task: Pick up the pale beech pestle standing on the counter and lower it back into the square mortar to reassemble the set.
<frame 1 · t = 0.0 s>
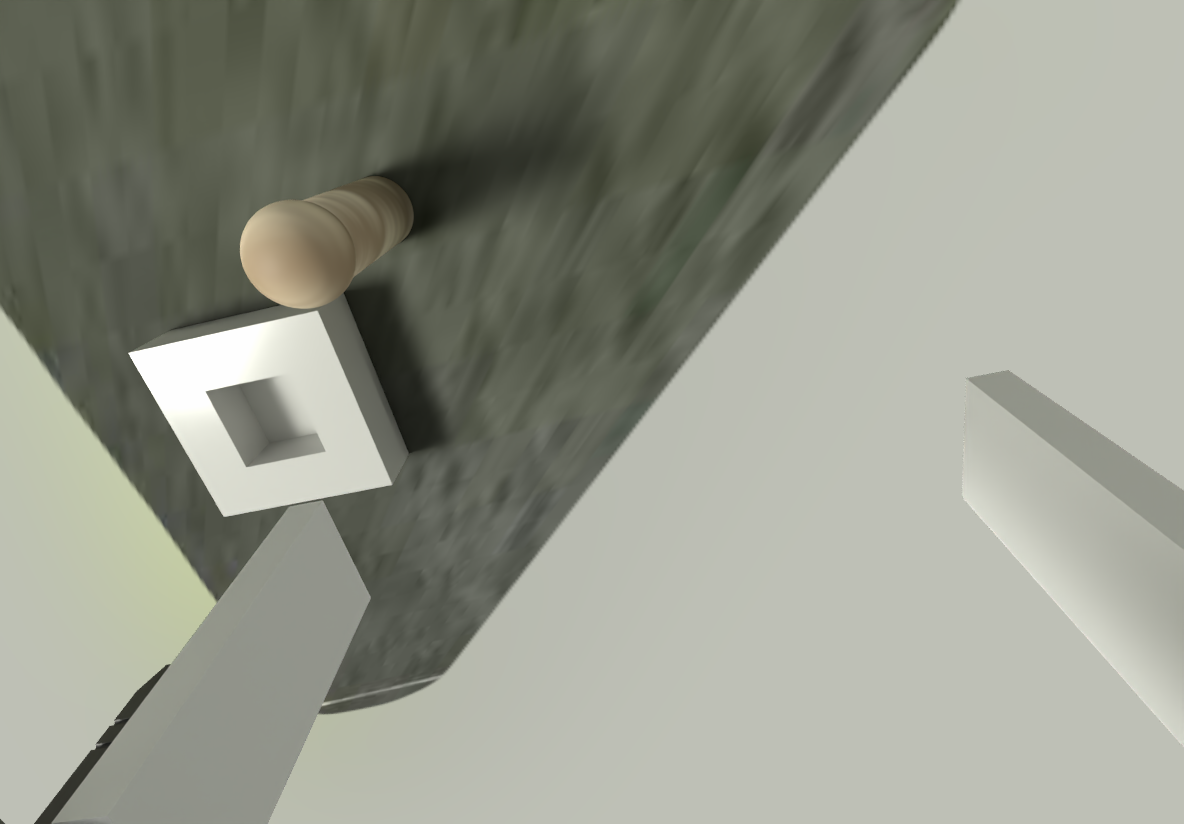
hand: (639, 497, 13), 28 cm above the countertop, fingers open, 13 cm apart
pestle: (379, 211, 38), on the countertop
mortar: (294, 394, 43), on the countertop
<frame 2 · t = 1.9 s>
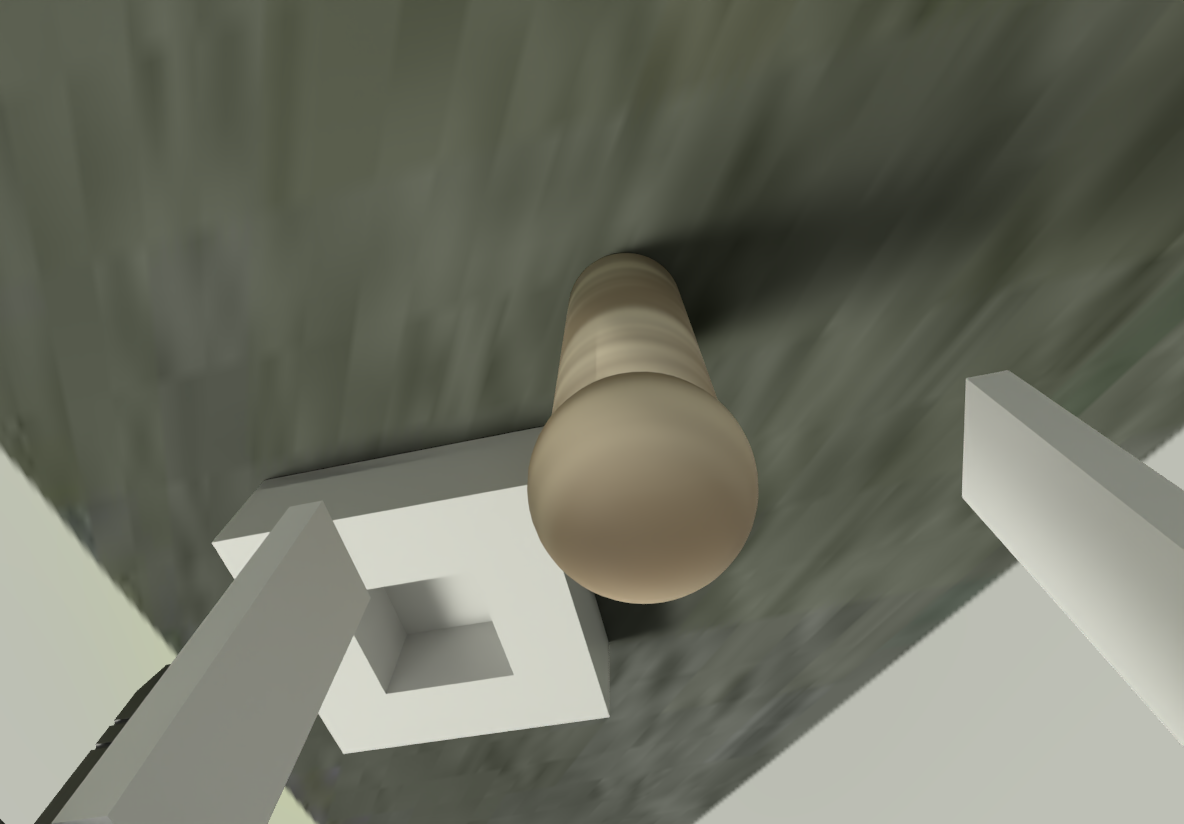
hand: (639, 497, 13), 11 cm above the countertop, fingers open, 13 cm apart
pestle: (624, 308, 23), on the countertop
mortar: (448, 567, 29), on the countertop
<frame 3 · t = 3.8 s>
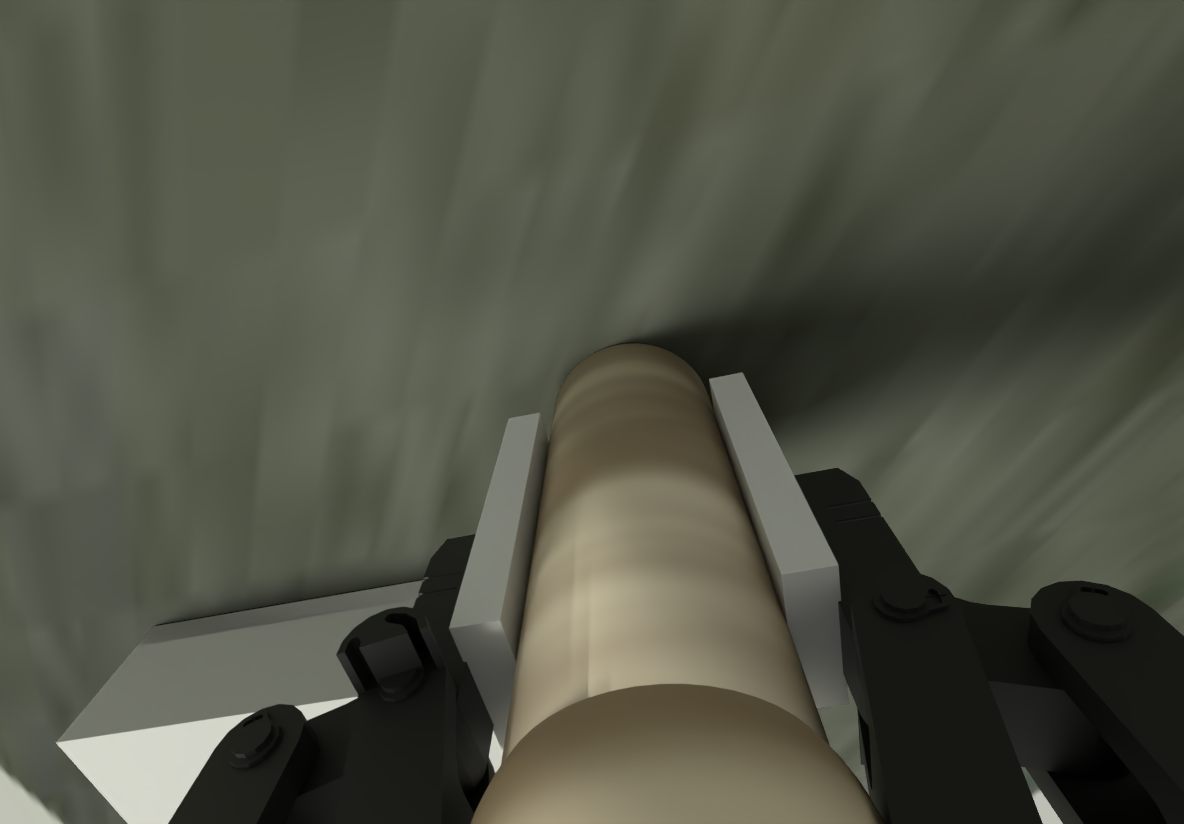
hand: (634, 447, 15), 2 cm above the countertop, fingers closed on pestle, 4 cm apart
pestle: (631, 416, 17), on the countertop, touching gripper
mortar: (401, 727, 22), on the countertop
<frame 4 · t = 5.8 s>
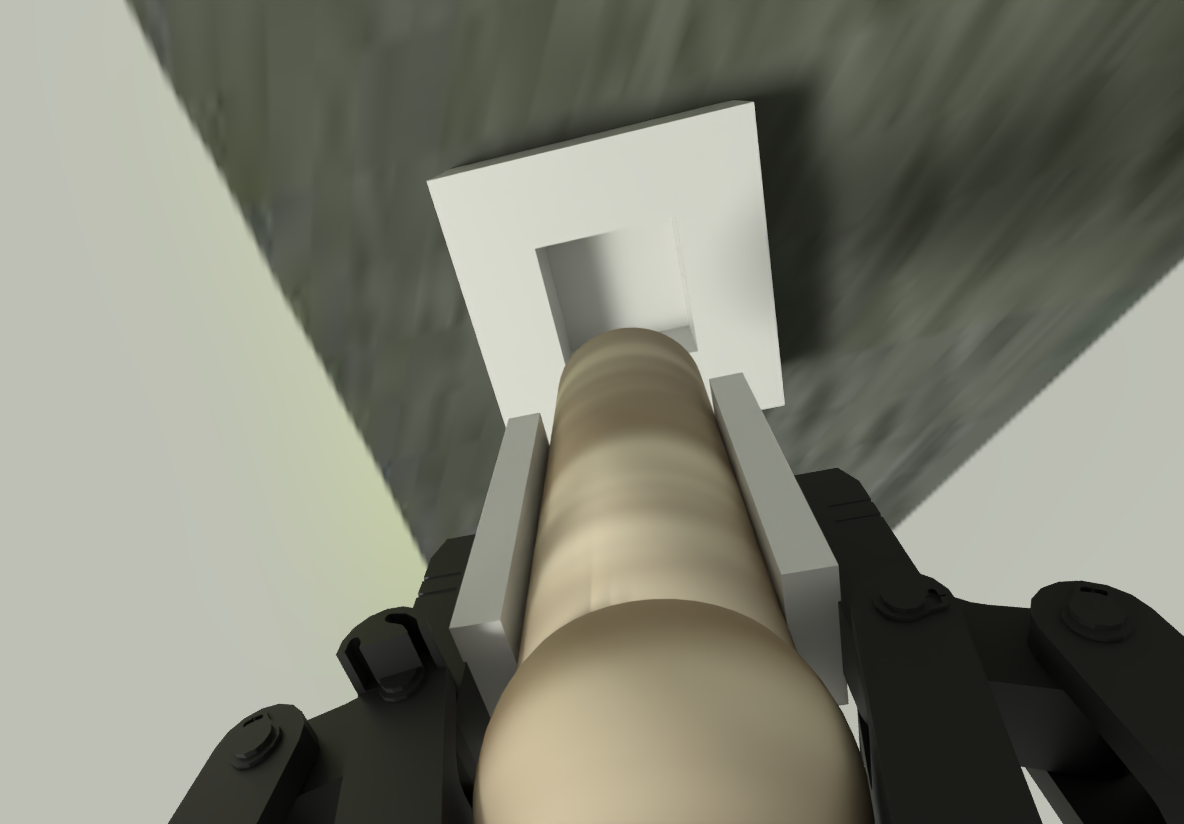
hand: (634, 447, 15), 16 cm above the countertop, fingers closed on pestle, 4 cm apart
pestle: (630, 396, 18), point 13 cm above the countertop, touching gripper
mortar: (617, 275, 29), on the countertop
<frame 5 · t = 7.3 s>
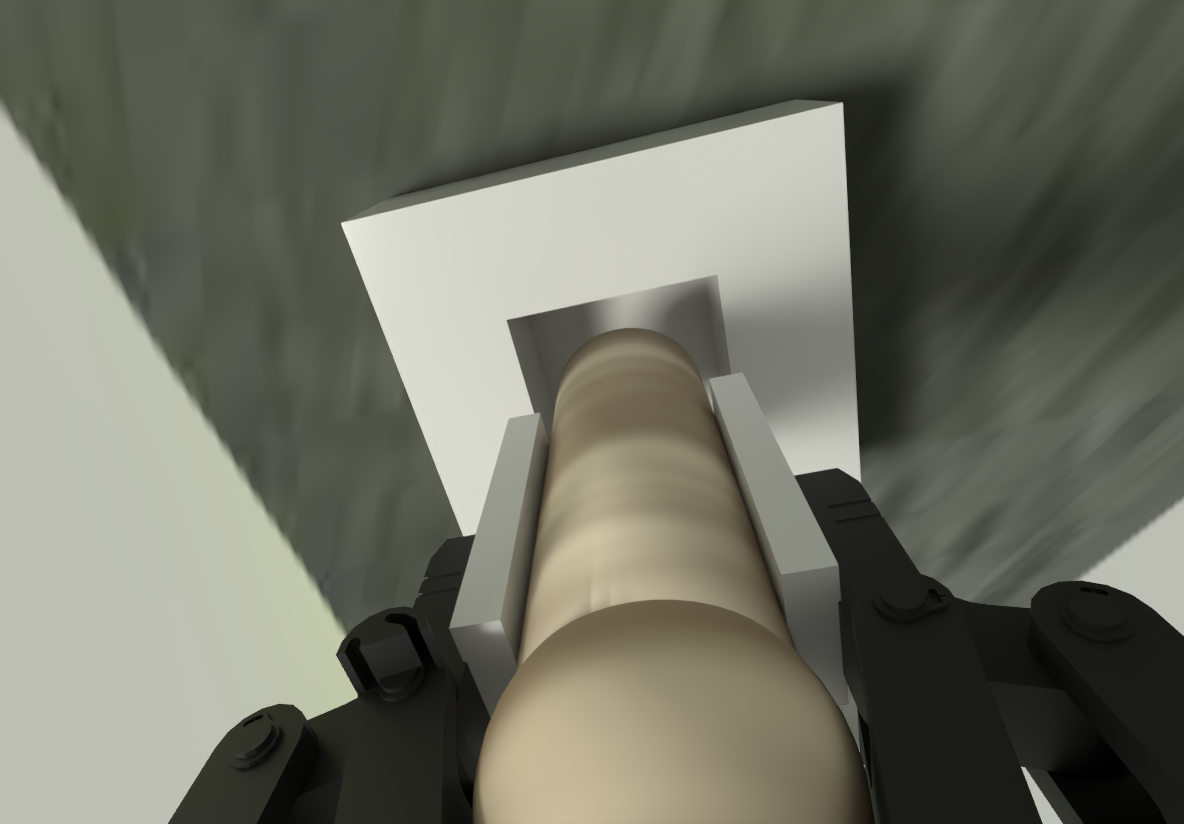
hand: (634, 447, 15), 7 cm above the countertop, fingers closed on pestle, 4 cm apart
pestle: (630, 396, 18), point 4 cm above the countertop, touching gripper
mortar: (626, 341, 21), on the countertop
when the fingers open (6 cm above the countertop, at t = 8.2 s): pestle drops 2 cm, resting on mortar.
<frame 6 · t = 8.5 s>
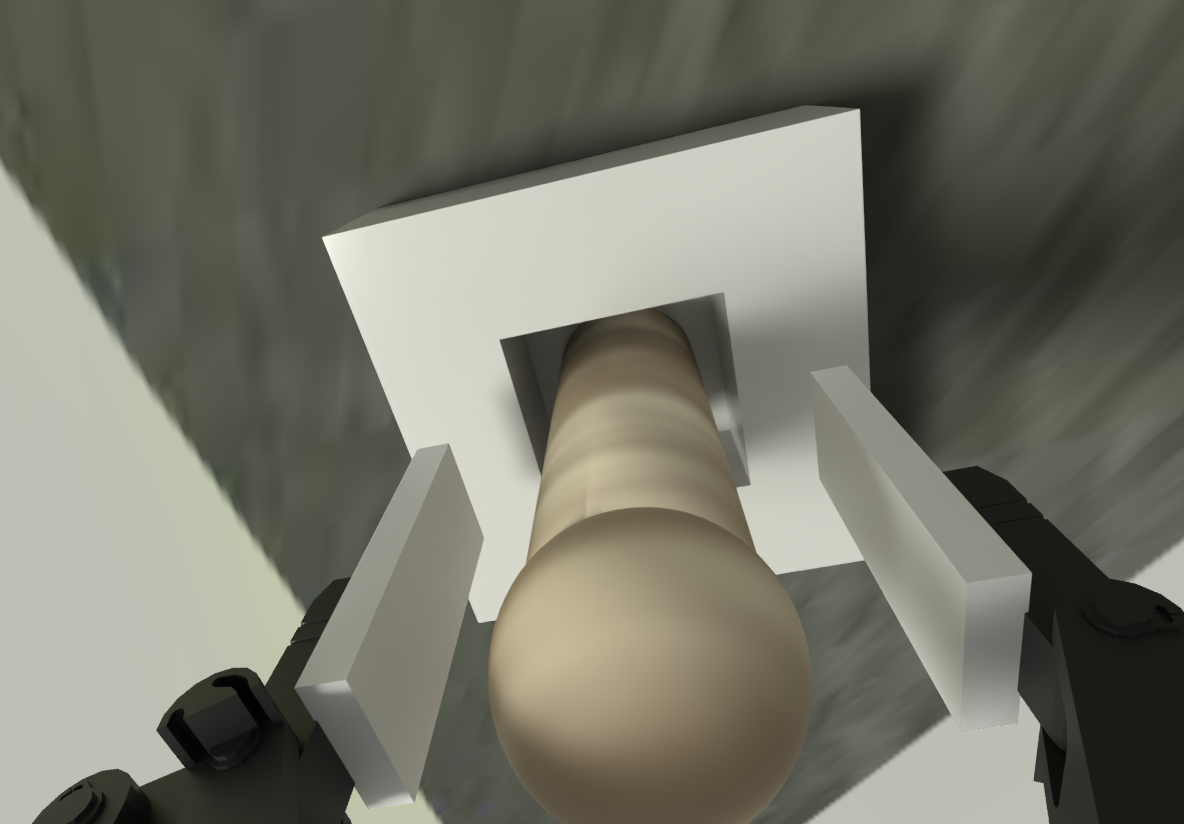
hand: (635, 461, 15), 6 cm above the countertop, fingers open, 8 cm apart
pestle: (628, 368, 19), point 1 cm above the countertop, touching mortar
mortar: (626, 358, 20), on the countertop
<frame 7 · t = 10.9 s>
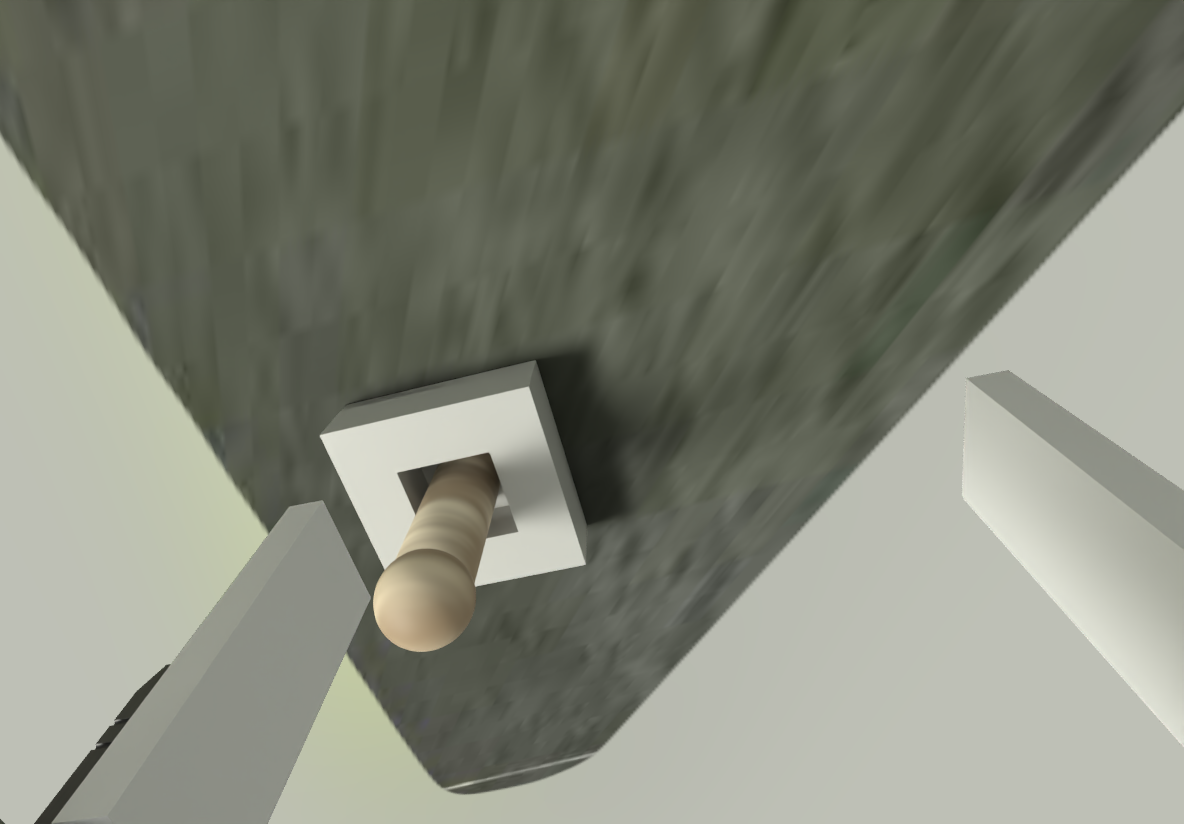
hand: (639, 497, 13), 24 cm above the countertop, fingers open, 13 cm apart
pestle: (469, 474, 40), point 1 cm above the countertop, touching mortar
mortar: (471, 468, 41), on the countertop
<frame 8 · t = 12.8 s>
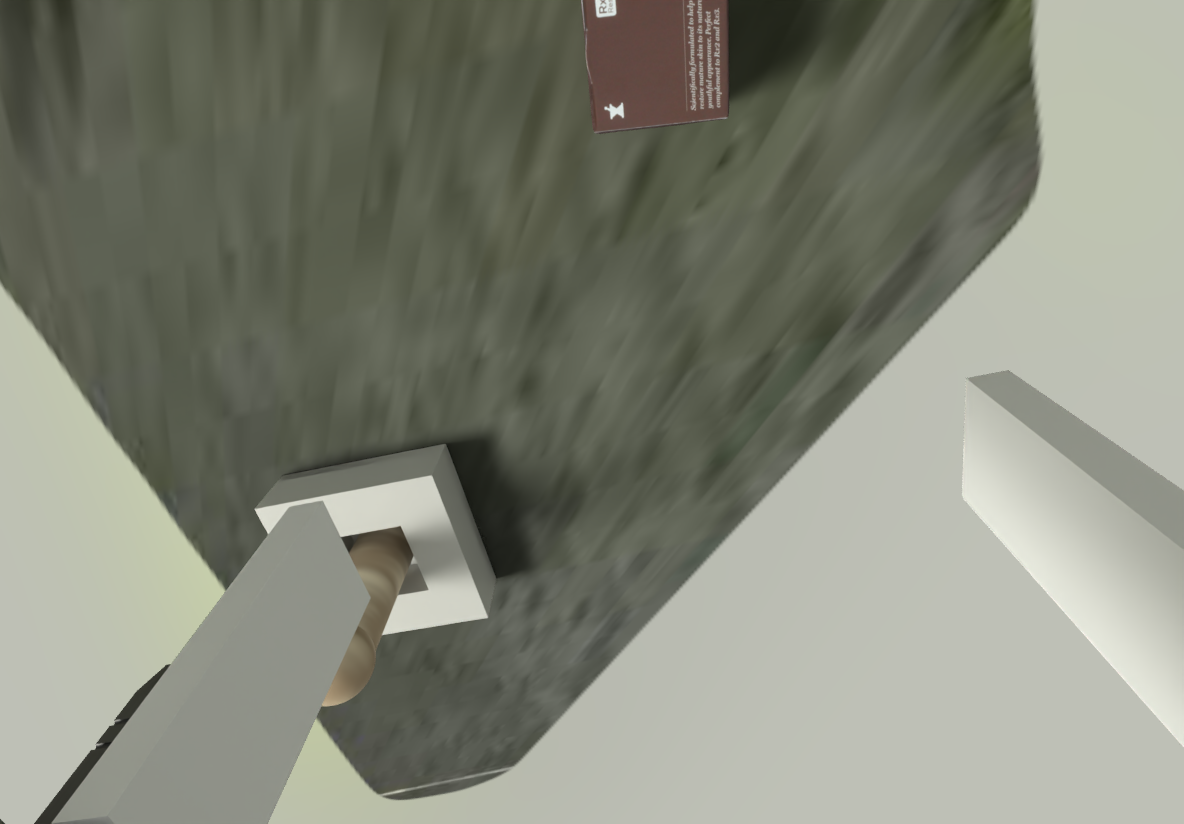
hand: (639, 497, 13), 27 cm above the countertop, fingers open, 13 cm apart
pestle: (390, 536, 46), point 1 cm above the countertop, touching mortar
box: (646, 58, 33), on the countertop
mortar: (393, 529, 47), on the countertop
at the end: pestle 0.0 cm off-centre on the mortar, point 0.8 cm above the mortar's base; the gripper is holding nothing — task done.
